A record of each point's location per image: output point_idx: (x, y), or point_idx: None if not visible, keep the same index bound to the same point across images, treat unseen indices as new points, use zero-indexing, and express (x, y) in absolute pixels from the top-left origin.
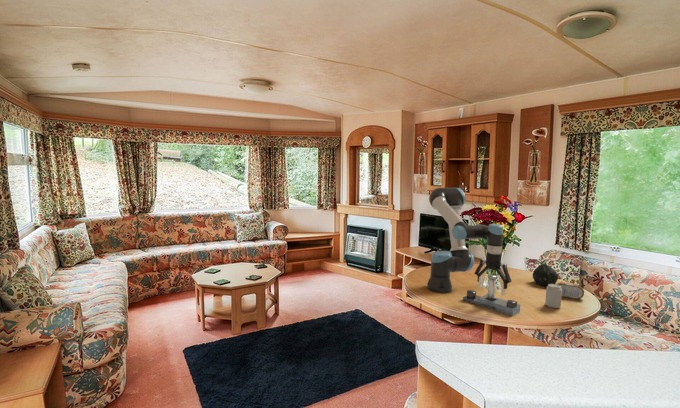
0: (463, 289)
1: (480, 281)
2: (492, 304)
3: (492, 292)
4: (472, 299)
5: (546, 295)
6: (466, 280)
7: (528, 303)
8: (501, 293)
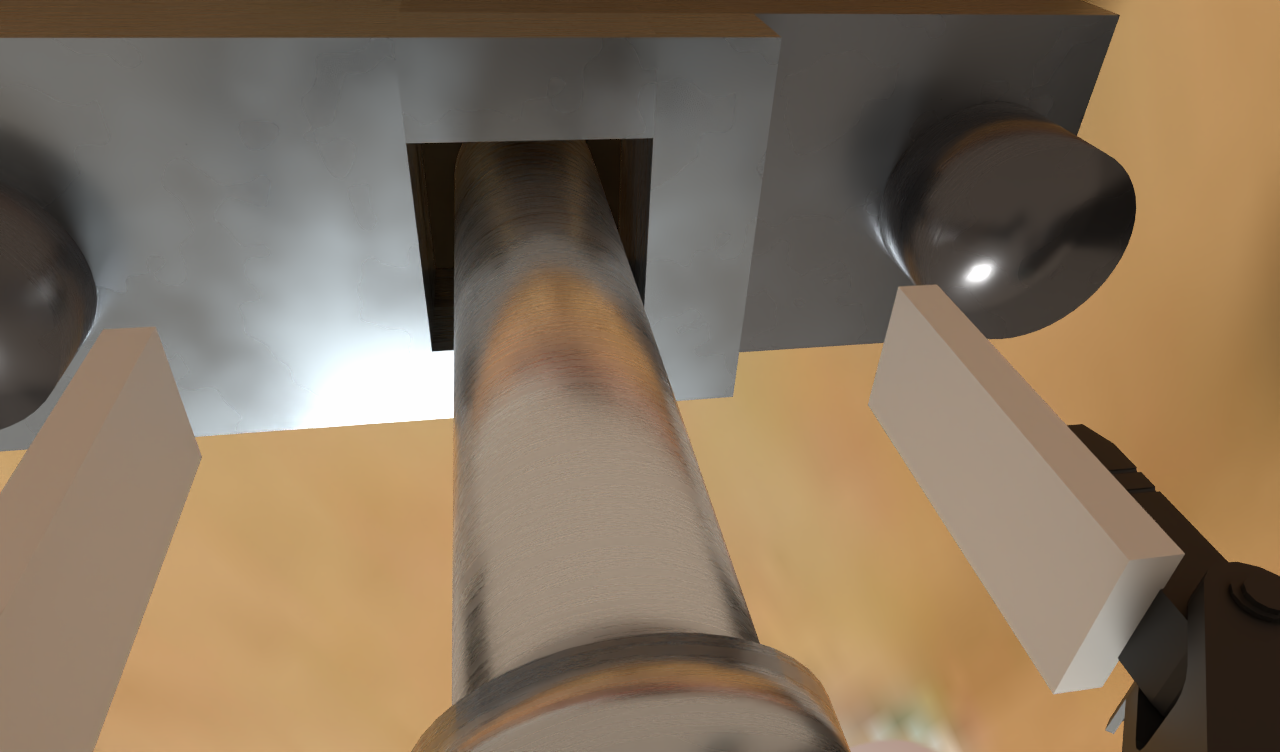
0: None
1: (1002, 453)
2: (355, 23)
3: (476, 305)
4: (903, 52)
5: None
6: None
7: (243, 712)
8: (141, 350)
